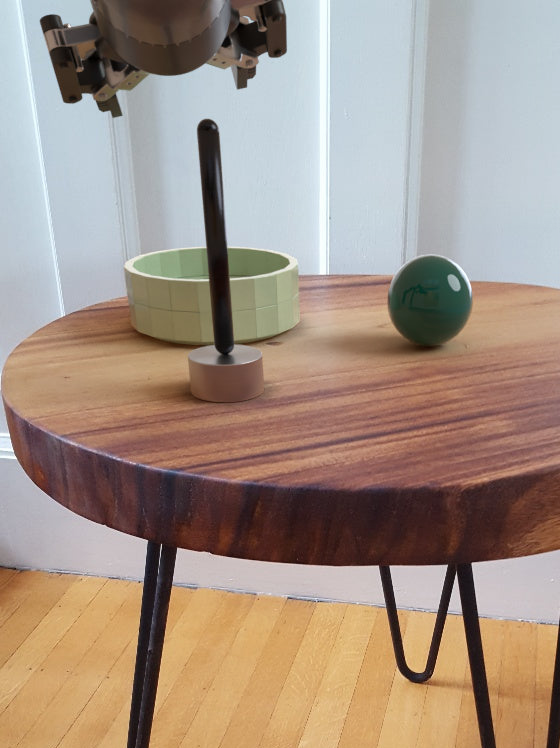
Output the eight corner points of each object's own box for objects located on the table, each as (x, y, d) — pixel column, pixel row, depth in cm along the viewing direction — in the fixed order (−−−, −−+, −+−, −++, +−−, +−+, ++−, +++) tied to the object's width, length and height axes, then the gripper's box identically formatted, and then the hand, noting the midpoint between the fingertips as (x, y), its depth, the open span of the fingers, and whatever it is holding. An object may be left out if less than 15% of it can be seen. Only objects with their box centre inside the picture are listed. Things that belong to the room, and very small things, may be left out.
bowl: (125, 351, 88) (116, 282, 85) (139, 307, 102) (131, 247, 99) (305, 346, 90) (303, 279, 87) (294, 304, 104) (292, 245, 101)
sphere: (447, 361, 86) (452, 267, 82) (371, 348, 90) (371, 257, 85) (483, 341, 92) (490, 252, 88) (410, 329, 96) (413, 243, 91)
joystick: (190, 403, 76) (162, 122, 65) (192, 380, 81) (166, 115, 70) (265, 401, 77) (250, 122, 66) (263, 378, 82) (248, 115, 71)
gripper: (272, -152, 48) (263, 3, 64) (-10, -95, 47) (52, 49, 63) (311, 11, 50) (293, 123, 65) (40, 71, 48) (88, 170, 64)
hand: (175, 87), depth 64 cm, fingers open, 8 cm apart
